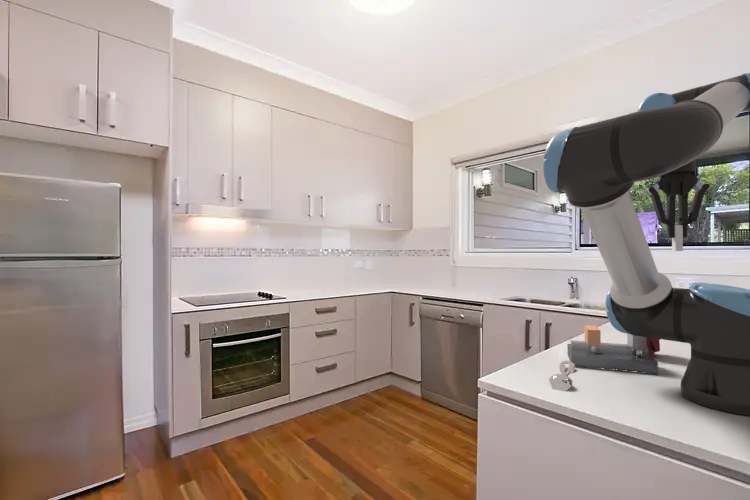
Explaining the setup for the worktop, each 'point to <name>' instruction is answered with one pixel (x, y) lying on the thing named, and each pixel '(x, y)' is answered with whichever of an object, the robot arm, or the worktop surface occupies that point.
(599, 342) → the block
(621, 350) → the bar
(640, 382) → the worktop surface
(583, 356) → the hole plate
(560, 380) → the grey spoon
